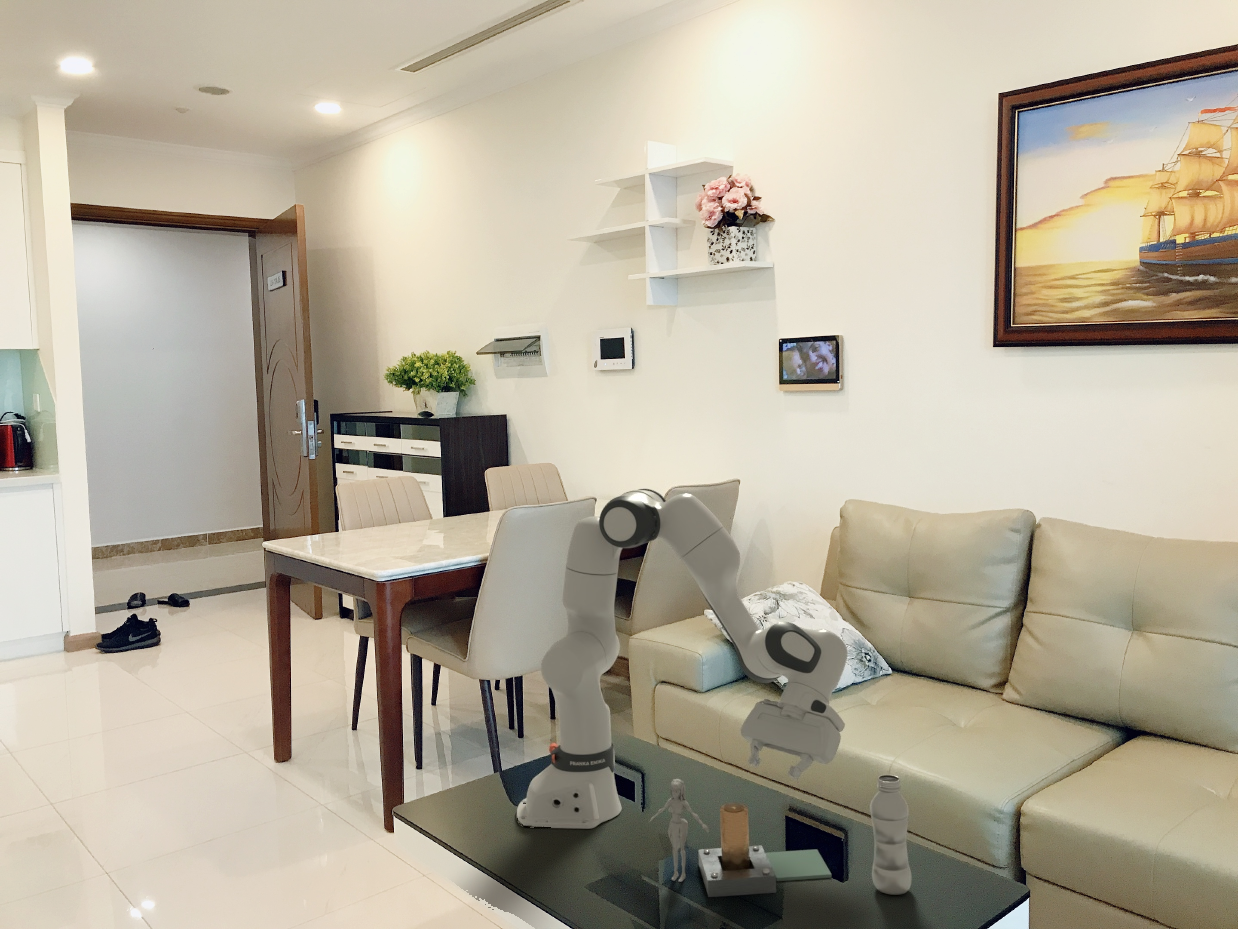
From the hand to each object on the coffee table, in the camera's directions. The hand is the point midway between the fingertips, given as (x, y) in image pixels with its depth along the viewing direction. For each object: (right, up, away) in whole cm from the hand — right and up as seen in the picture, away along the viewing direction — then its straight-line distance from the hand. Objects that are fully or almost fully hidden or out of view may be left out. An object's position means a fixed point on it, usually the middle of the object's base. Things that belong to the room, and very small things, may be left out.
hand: (772, 771), depth 182 cm
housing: (-8, -17, -7) cm, 20 cm away
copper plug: (-8, -17, -7) cm, 20 cm away
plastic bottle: (+19, -17, -13) cm, 29 cm away
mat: (+4, -17, -3) cm, 18 cm away
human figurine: (-18, -18, -5) cm, 26 cm away
